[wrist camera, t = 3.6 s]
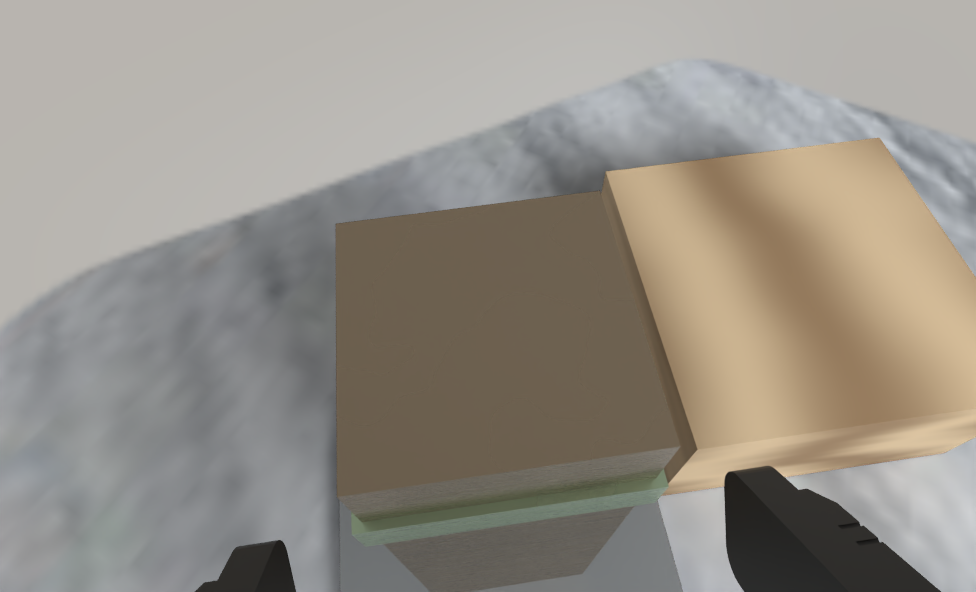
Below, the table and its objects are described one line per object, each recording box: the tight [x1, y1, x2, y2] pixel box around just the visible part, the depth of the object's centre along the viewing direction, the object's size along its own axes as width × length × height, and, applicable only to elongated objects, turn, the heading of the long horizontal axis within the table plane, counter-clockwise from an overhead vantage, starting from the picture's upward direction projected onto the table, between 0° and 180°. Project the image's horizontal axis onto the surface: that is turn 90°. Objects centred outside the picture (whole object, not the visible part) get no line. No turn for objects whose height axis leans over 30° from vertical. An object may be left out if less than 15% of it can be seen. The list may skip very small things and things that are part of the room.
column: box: [336, 191, 681, 592], centre depth 14 cm, size 5×5×12 cm
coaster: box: [339, 500, 683, 592], centre depth 19 cm, size 10×10×1 cm
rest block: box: [601, 138, 976, 496], centre depth 21 cm, size 10×10×5 cm
